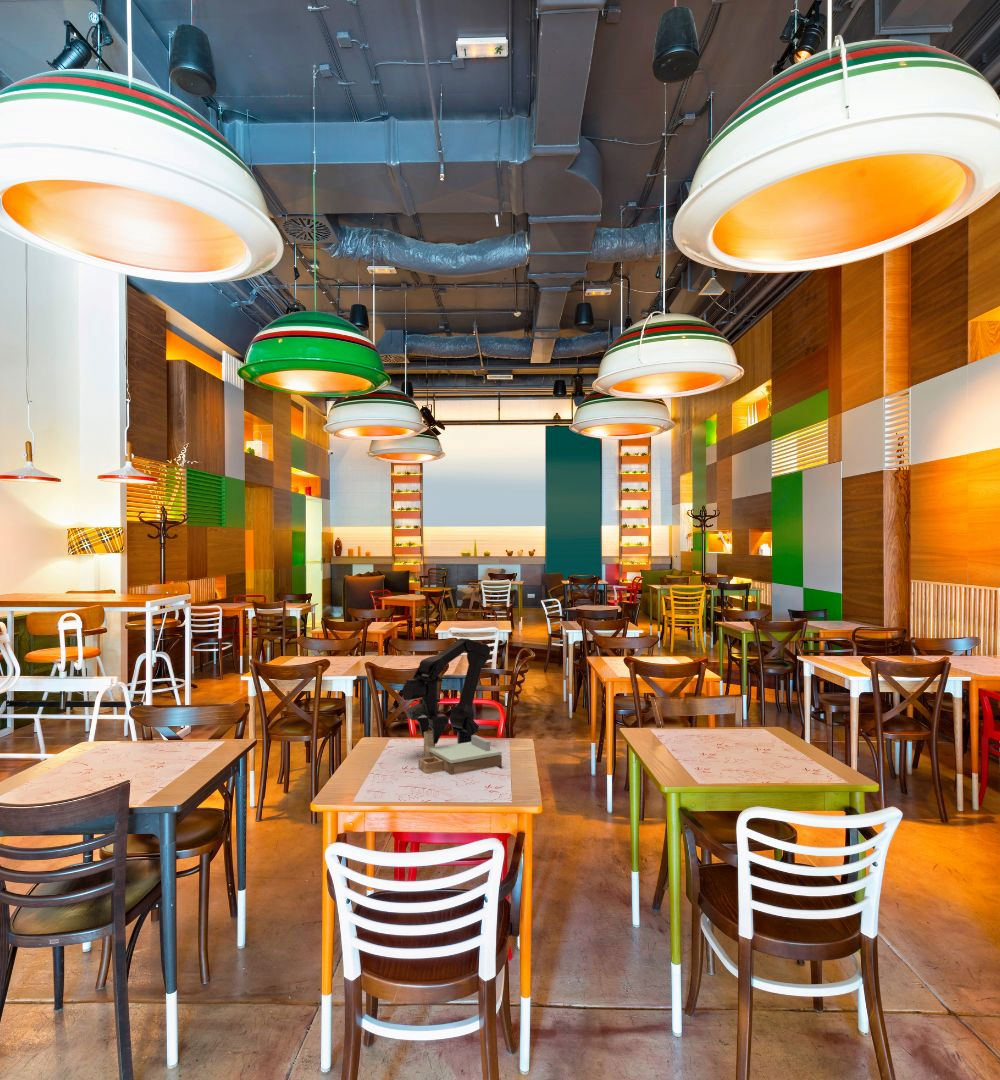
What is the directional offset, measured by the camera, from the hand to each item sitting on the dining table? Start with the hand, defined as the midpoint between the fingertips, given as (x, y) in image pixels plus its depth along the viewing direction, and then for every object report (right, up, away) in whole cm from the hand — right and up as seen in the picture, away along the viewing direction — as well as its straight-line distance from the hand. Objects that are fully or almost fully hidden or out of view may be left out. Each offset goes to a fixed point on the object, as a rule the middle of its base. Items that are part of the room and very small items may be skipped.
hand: (429, 740), depth 231 cm
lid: (+13, -1, -10) cm, 16 cm away
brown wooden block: (0, -6, 0) cm, 6 cm away
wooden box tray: (+10, -6, -11) cm, 16 cm away
